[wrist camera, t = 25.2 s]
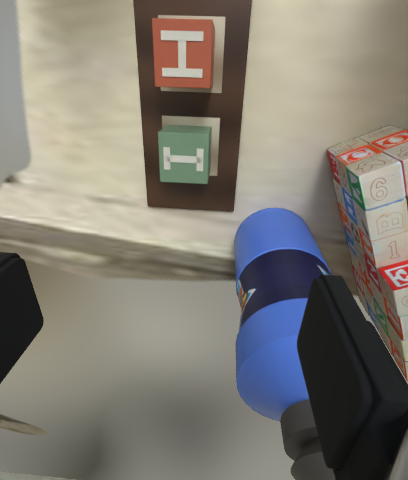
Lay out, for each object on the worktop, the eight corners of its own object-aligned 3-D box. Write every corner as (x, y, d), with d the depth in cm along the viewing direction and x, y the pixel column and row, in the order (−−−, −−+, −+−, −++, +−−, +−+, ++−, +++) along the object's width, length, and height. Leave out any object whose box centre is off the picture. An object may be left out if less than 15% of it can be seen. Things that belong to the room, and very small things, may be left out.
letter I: (167, 124, 29) (157, 132, 25) (212, 126, 29) (209, 134, 25) (168, 168, 32) (159, 182, 28) (210, 171, 31) (207, 184, 27)
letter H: (163, 26, 25) (151, 17, 21) (215, 28, 25) (212, 19, 21) (165, 85, 28) (154, 86, 24) (212, 87, 27) (210, 88, 23)
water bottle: (239, 277, 39) (252, 535, 17) (227, 213, 34) (223, 451, 13) (312, 268, 37) (430, 539, 15) (309, 200, 33) (466, 445, 11)
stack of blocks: (323, 148, 30) (375, 188, 19) (389, 123, 28) (486, 151, 18) (359, 300, 39) (408, 385, 28) (410, 287, 37) (483, 372, 27)
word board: (134, -15, 25) (131, -18, 24) (252, -13, 24) (253, -16, 24) (148, 204, 35) (147, 206, 34) (233, 209, 34) (233, 211, 33)
